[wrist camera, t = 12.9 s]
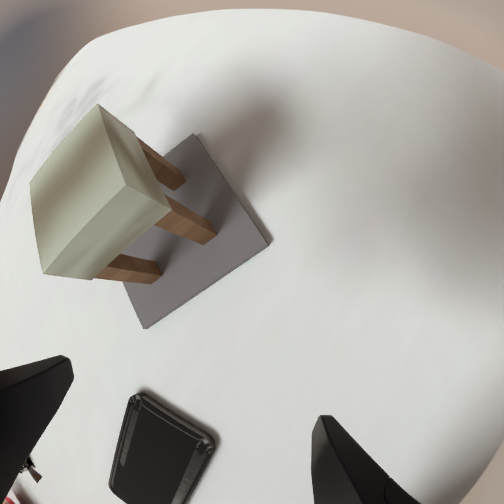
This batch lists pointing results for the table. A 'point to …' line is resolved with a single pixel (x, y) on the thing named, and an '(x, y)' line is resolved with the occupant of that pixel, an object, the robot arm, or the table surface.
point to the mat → (187, 251)
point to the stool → (106, 203)
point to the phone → (157, 455)
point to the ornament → (8, 501)
